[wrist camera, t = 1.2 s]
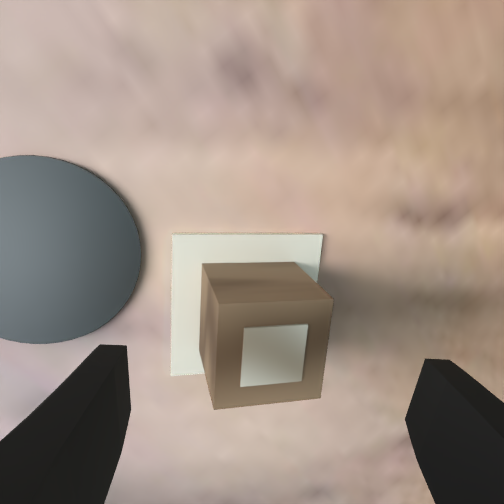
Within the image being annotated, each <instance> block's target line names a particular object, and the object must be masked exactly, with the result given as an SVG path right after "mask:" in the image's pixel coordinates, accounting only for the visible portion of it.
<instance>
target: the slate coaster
mask: <svg viewBox="0 0 504 504" xmlns="http://www.w3.org/2000/svg"><path fill="white" fill-rule="evenodd" d="M140 262H141V248H140V239H139V235H138V230H137V228H136V225H135V222H134V220H133V217H132V216H131V214H130V212H129V210H128V208H127V207H126V205H125V204H124V203H123V201H122V200H121V198H120V197H119V196H118V195H117V194H116V193H115V192H114V191H113V190H112V188H111V187H109V186H108V185H107V184H106V183H105V182H103V181H102V180H101V179H100V178H98V177H97V176H95V175H94V174H92V173H90V172H89V171H87V170H85V169H83V168H81V167H79V166H77V165H74V164H72V163H69V162H66V161H63V160H59V159H55V158H51V157H44V156H35V155H19V156H11V157H4V158H0V338H3V339H6V340H10V341H15V342H20V343H30V344H49V343H58V342H63V341H68V340H72V339H75V338H78V337H81V336H84V335H86V334H88V333H90V332H92V331H94V330H96V329H98V328H99V327H101V326H102V325H104V324H105V323H107V322H108V321H109V320H110V319H111V318H113V317H114V316H115V315H116V314H117V313H118V312H119V311H120V309H121V308H122V307H123V306H124V304H125V303H126V302H127V300H128V299H129V297H130V295H131V293H132V291H133V290H134V287H135V285H136V282H137V279H138V275H139V270H140Z"/></svg>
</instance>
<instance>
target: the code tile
mask: <svg viewBox="0 0 504 504" xmlns="http://www.w3.org/2000/svg"><path fill="white" fill-rule="evenodd" d="M322 239H323V235H322V234H321V233H172V271H171V360H170V374H171V376H179V375H191V374H203V373H205V372H204V368H203V364H202V360H201V356H200V352H199V336H200V306H201V276H202V263H252V262H295V263H296V264H297V265H298V266H299V267H300V268H301V269H302V270H303V271H305V272H306V273H307V274H308V275H309V276H310V277H311V278H312V279H313V280H314V281H315V282H316V283H317V280H318V272H319V263H320V255H321V247H322Z"/></svg>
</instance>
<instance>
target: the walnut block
mask: <svg viewBox="0 0 504 504" xmlns="http://www.w3.org/2000/svg"><path fill="white" fill-rule="evenodd" d="M333 302H334V299H333V298H332V297H331V296H330V295H329V294H328V293H327V292H326V291H325V290H324V289H323V288H322V287H320V286H319V285H318V284H317V283H316V282H315V281H314V280H313V279H312V278H311V277H310V276H309V275H308V274H307V273H306V272H305V271H303V270H302V269H301V268H300V267H299V266H298V265H297V264H296V263H295V262H252V263H202V276H201V306H200V336H199V352H200V356H201V360H202V364H203V368H204V372H205V376H206V380H207V384H208V388H209V392H210V396H211V400H212V404H213V408H214V410H217V409H226V408H235V407H244V406H254V405H263V404H272V403H281V402H291V401H300V400H309V399H318V398H321V391H322V383H323V376H324V368H325V361H326V354H327V346H328V339H329V331H330V324H331V317H332V309H333Z"/></svg>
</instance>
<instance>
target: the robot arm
mask: <svg viewBox="0 0 504 504" xmlns="http://www.w3.org/2000/svg"><path fill="white" fill-rule="evenodd" d="M130 412H131V402H130V387H129V372H128V357H127V346H124V345H101V344H100V345H99V346H98V347H97V348H96V349H95V350H94V351H93V352H92V353H91V354H90V355H89V356H88V357H87V358H86V359H85V360H84V361H83V362H82V363H81V364H80V365H79V366H78V367H77V368H76V369H75V370H74V371H73V373H72V374H71V375H70V376H69V377H68V378H67V379H66V380H65V381H64V382H63V383H62V384H61V385H60V386H59V387H58V388H57V389H56V390H55V391H54V392H53V393H52V394H51V395H50V396H49V397H47V398H46V399H45V400H44V401H43V402H42V403H41V404H40V405H39V406H38V407H37V408H36V409H35V410H34V411H33V412H32V413H31V414H30V415H29V416H28V417H27V418H26V419H24V420H23V421H22V422H21V423H20V424H19V425H18V426H17V427H15V428H14V429H13V430H12V431H11V432H10V433H9V434H8V435H7V436H5V437H4V438H3V439H2V440H1V441H0V504H104V502H105V499H106V496H107V494H108V491H109V488H110V485H111V482H112V479H113V476H114V473H115V470H116V467H117V464H118V461H119V458H120V455H121V452H122V448H123V444H124V439H125V435H126V430H127V426H128V421H129V417H130ZM405 421H406V425H407V428H408V432H409V435H410V439H411V443H412V446H413V449H414V452H415V455H416V459H417V461H418V464H419V466H420V469H421V471H422V474H423V476H424V478H425V481H426V483H427V485H428V488H429V490H430V492H431V495H432V497H433V499H434V501H435V504H504V403H503V402H502V401H501V400H500V399H498V398H497V397H496V396H495V395H493V394H492V393H491V392H490V391H488V390H487V389H486V388H485V387H484V386H482V385H481V384H480V383H479V382H477V381H476V380H475V379H474V378H472V377H471V376H470V375H469V374H467V373H466V372H465V371H464V370H462V369H461V368H460V367H458V366H457V365H456V364H454V363H453V362H452V361H450V360H442V359H425V361H424V364H423V367H422V370H421V373H420V376H419V379H418V382H417V385H416V388H415V391H414V394H413V397H412V400H411V403H410V406H409V409H408V411H407V414H406V417H405Z"/></svg>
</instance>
